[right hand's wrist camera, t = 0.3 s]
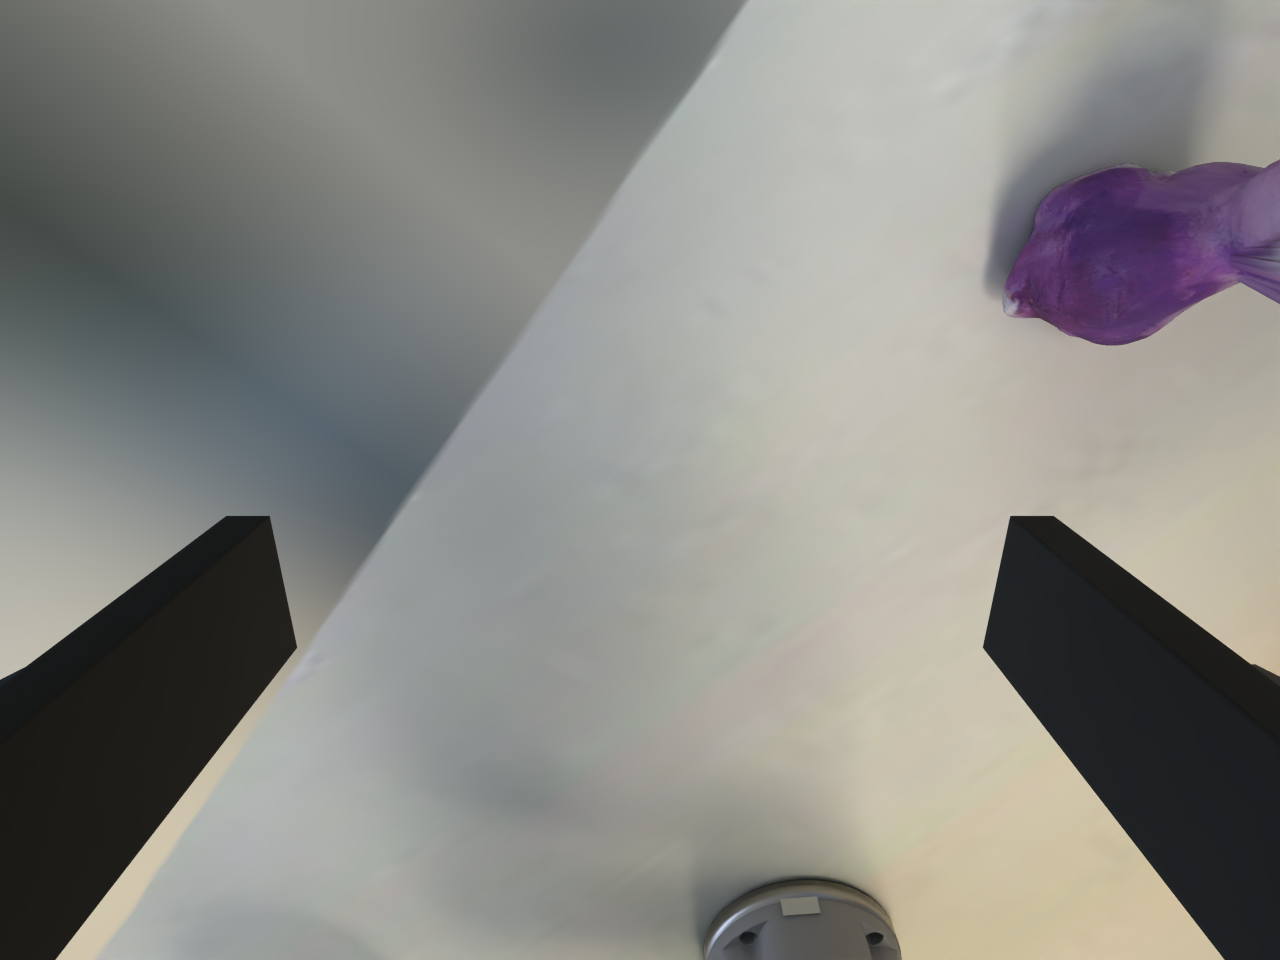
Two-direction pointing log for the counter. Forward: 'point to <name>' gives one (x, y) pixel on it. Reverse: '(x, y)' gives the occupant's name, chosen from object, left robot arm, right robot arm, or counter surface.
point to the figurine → (1146, 247)
